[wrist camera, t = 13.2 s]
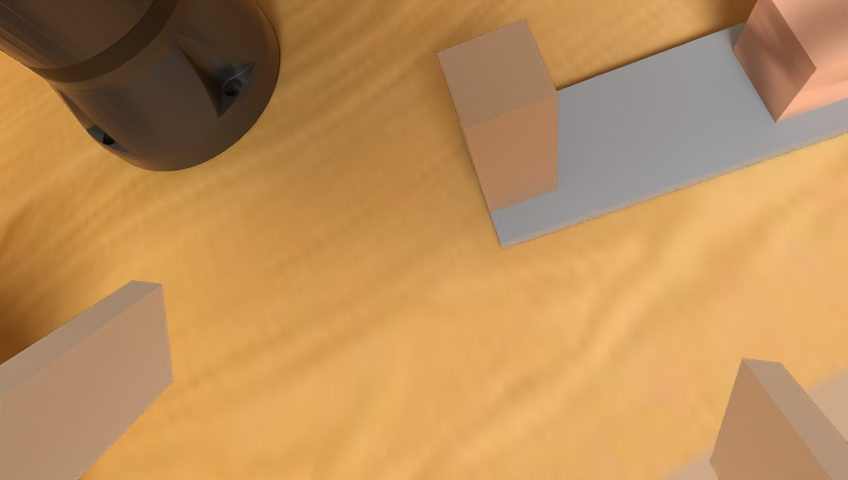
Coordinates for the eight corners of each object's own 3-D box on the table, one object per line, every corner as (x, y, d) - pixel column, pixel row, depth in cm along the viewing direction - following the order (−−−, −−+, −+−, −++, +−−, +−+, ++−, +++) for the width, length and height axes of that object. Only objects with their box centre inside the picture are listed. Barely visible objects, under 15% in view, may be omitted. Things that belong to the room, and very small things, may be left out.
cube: (732, 50, 31) (763, -13, 27) (822, 18, 31) (870, -53, 26) (775, 123, 30) (817, 68, 25) (871, 89, 29) (932, 27, 24)
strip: (462, 134, 35) (424, 17, 24) (818, 3, 32) (943, -189, 22) (502, 249, 32) (477, 171, 22) (896, 116, 29) (1081, -44, 19)
